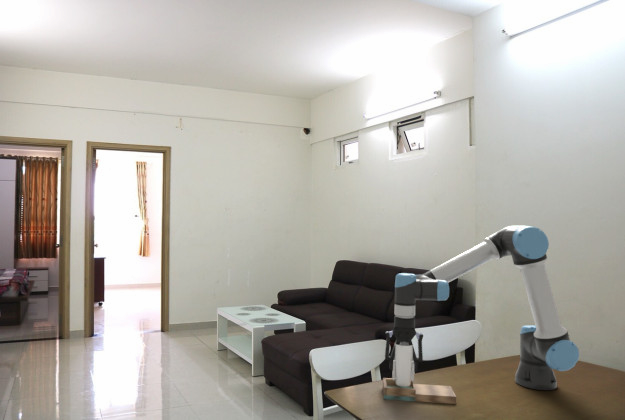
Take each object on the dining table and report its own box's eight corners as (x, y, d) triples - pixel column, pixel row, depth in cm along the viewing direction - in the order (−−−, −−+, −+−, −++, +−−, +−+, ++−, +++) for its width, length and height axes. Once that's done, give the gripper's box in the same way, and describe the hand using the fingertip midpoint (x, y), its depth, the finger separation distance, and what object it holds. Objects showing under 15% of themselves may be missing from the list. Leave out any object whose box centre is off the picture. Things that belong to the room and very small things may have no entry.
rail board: (450, 392, 181) (450, 382, 181) (456, 403, 170) (456, 392, 170) (382, 388, 184) (382, 377, 184) (383, 399, 173) (384, 387, 173)
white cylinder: (413, 383, 180) (414, 342, 180) (411, 389, 173) (411, 346, 174) (395, 380, 182) (396, 340, 182) (392, 386, 176) (392, 344, 176)
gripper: (429, 315, 181) (428, 378, 181) (378, 312, 183) (376, 374, 183) (432, 319, 174) (431, 384, 173) (378, 316, 176) (376, 381, 175)
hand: (403, 379), depth 178 cm, fingers closed on white cylinder, 6 cm apart
